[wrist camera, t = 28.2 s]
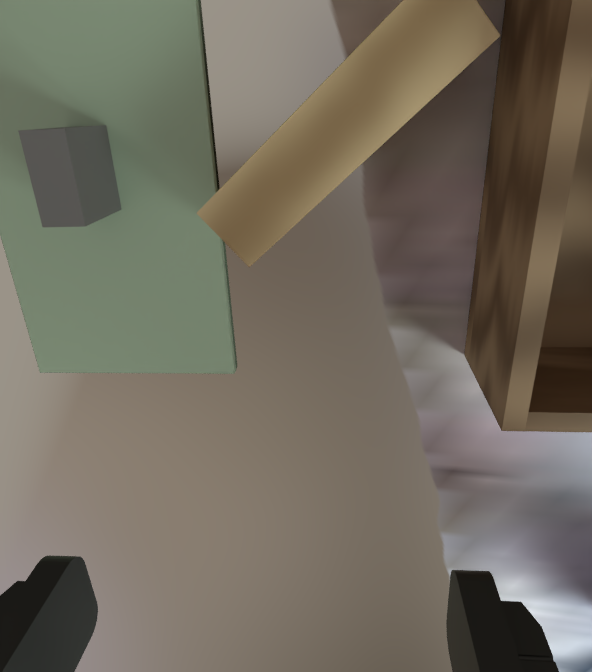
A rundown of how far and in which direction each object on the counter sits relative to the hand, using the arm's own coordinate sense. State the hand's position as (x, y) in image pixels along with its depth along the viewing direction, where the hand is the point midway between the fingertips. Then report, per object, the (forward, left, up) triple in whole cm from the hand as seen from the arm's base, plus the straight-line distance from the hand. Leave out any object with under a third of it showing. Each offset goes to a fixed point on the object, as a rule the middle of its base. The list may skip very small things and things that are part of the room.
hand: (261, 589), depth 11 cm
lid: (+4, +14, -25) cm, 29 cm away
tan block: (+8, -1, -25) cm, 26 cm away
